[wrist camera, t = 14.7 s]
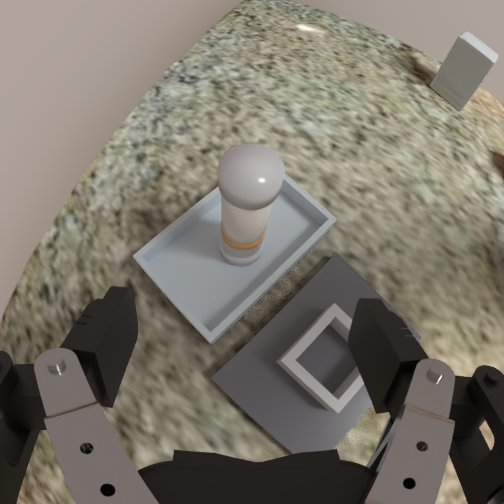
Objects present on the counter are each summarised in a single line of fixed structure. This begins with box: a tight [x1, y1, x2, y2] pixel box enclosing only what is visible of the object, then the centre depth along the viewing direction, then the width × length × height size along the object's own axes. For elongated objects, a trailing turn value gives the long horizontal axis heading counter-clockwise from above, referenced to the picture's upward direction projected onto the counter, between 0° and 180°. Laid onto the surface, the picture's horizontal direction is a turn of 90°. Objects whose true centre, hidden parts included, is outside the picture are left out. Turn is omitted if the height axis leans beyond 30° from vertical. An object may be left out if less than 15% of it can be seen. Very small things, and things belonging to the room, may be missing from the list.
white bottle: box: [218, 143, 285, 267], centre depth 25 cm, size 4×4×12 cm
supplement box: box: [429, 31, 498, 111], centre depth 40 cm, size 7×7×13 cm
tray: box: [133, 174, 337, 346], centre depth 30 cm, size 16×10×3 cm, turn 135°
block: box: [211, 253, 421, 454], centre depth 26 cm, size 16×12×4 cm
